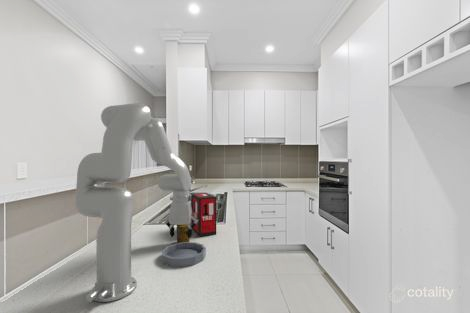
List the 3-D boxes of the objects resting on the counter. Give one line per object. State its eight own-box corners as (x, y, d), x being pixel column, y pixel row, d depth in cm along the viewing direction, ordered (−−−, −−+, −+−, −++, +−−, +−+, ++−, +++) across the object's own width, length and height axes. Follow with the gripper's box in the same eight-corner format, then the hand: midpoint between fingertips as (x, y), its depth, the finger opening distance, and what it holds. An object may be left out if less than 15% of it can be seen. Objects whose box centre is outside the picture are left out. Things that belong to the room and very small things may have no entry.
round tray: (199, 267, 85) (199, 259, 85) (155, 265, 87) (155, 257, 87) (209, 249, 102) (209, 242, 102) (171, 248, 104) (171, 241, 104)
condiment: (192, 244, 109) (192, 219, 109) (175, 248, 104) (175, 221, 104) (186, 240, 115) (186, 215, 115) (170, 243, 110) (169, 218, 110)
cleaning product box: (216, 234, 122) (216, 196, 122) (200, 237, 118) (200, 198, 118) (205, 226, 137) (205, 192, 137) (191, 228, 133) (191, 193, 133)
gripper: (160, 200, 107) (160, 239, 106) (197, 201, 105) (197, 240, 105) (166, 198, 114) (166, 233, 114) (201, 198, 112) (201, 234, 112)
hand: (181, 236), depth 109 cm, fingers open, 7 cm apart
